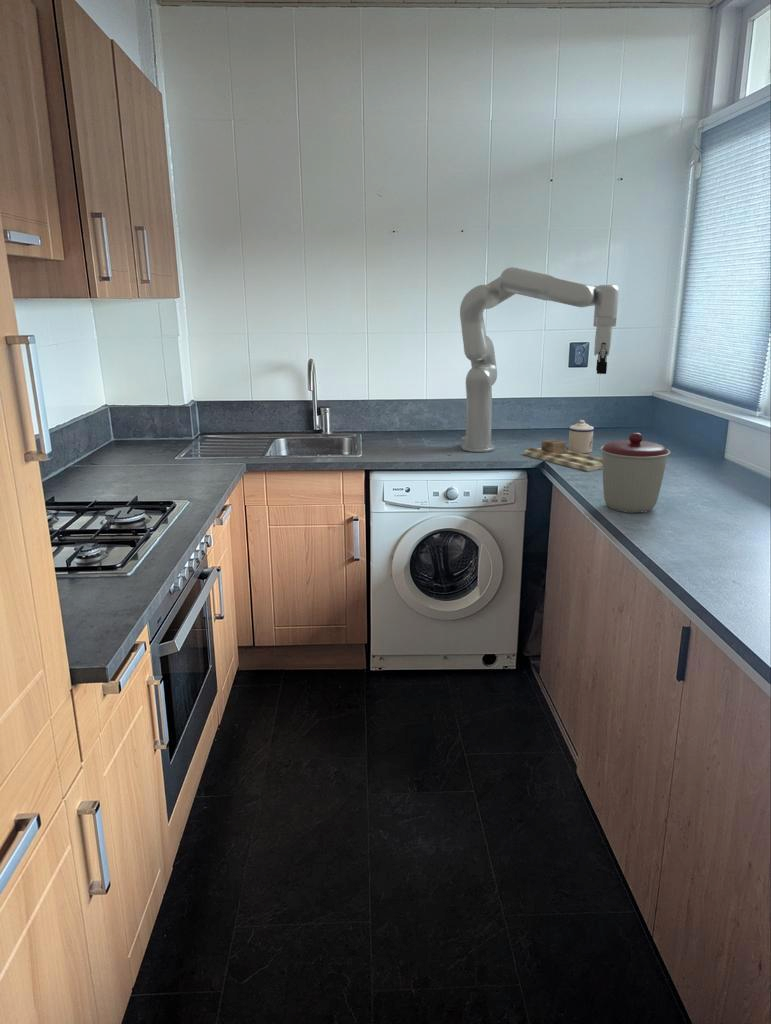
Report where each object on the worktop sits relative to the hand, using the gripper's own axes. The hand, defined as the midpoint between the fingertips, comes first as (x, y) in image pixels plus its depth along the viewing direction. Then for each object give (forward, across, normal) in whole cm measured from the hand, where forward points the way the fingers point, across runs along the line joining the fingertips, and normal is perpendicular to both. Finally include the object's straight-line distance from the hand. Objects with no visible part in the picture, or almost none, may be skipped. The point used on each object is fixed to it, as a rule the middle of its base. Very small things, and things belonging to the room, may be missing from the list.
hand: (601, 372), depth 256 cm
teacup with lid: (+30, -8, -6) cm, 32 cm away
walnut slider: (+28, +5, -15) cm, 32 cm away
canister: (+30, +67, +8) cm, 74 cm away
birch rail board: (+30, +10, -10) cm, 33 cm away
